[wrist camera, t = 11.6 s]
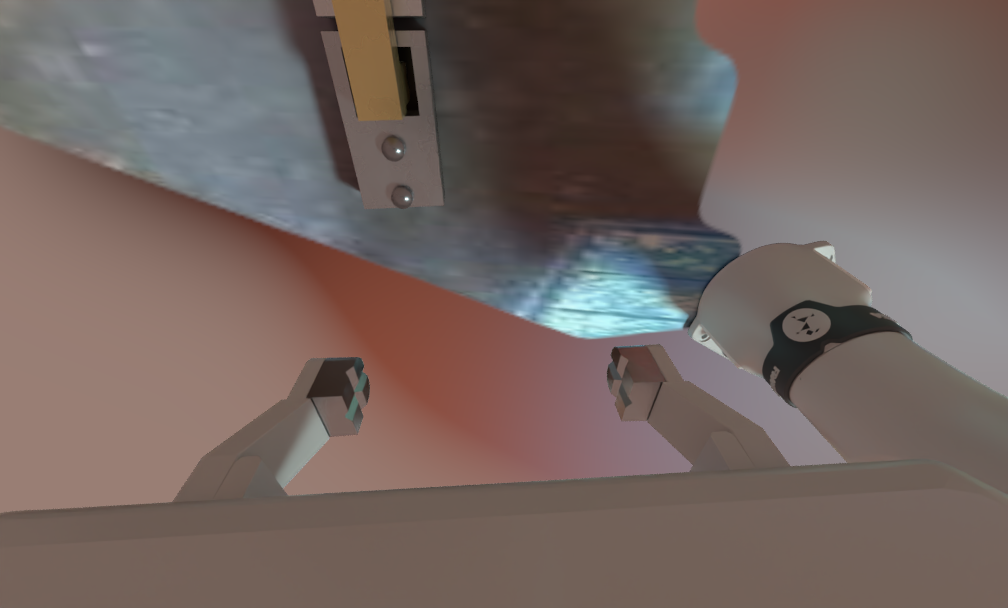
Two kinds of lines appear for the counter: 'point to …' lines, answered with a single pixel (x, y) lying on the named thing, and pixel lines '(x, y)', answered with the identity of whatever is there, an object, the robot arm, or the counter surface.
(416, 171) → the gray windowed bar
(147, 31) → the counter surface
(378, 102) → the tan bridge block
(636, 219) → the counter surface
